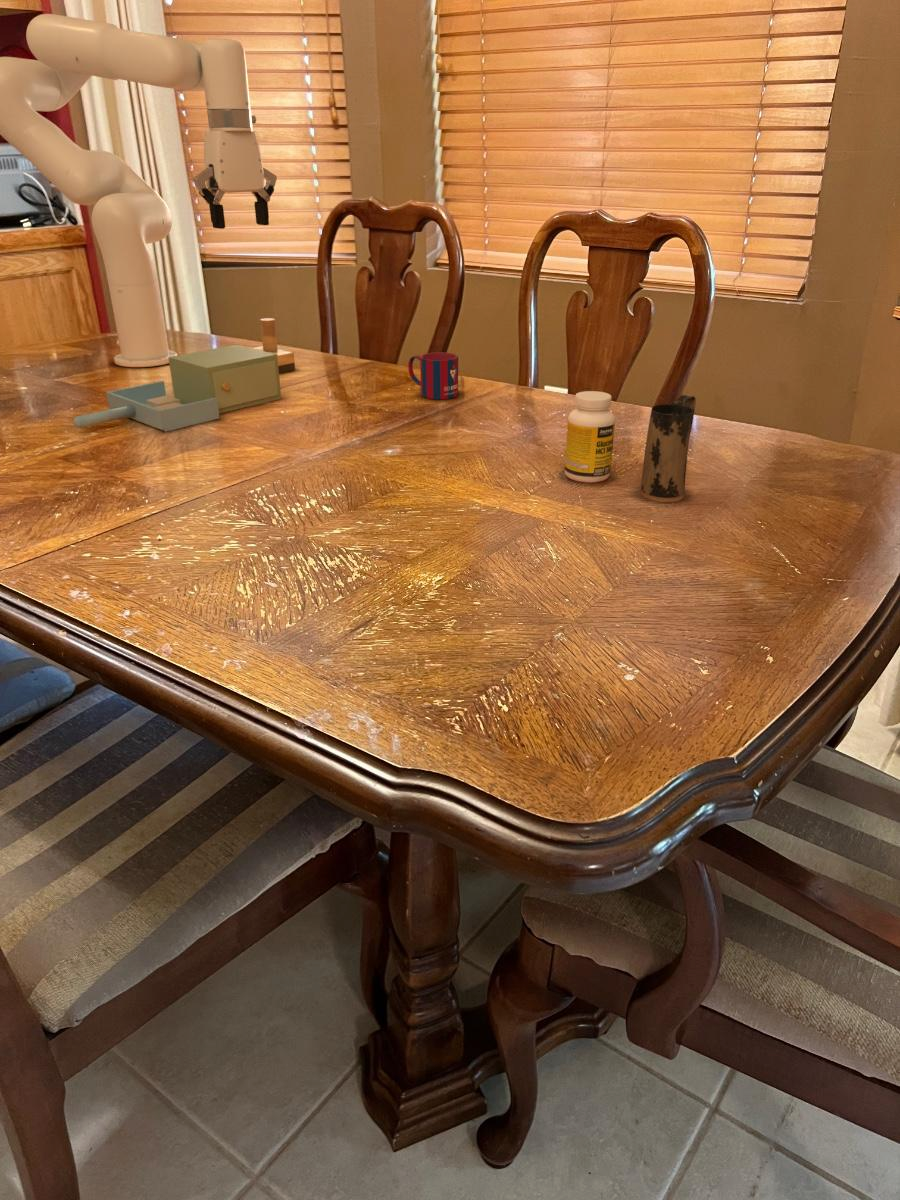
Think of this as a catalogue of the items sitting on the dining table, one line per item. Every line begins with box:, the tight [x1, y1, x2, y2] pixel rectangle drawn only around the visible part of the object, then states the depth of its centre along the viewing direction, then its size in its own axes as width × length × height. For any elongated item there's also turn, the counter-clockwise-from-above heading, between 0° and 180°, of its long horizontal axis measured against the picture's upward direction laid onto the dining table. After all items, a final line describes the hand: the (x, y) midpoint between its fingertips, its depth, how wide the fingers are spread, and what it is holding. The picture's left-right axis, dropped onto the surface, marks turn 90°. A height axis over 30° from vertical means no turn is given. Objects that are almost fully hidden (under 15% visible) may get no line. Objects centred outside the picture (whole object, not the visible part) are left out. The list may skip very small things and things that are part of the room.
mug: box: [640, 394, 697, 503], centre depth 108 cm, size 8×6×12 cm
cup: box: [407, 351, 459, 400], centre depth 154 cm, size 7×10×7 cm
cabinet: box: [168, 344, 282, 415], centre depth 149 cm, size 13×14×8 cm
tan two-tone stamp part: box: [252, 317, 296, 375], centre depth 171 cm, size 10×4×10 cm, turn 47°
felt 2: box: [154, 403, 181, 410], centre depth 141 cm, size 4×4×2 cm
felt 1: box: [146, 395, 180, 408], centre depth 145 cm, size 4×4×2 cm
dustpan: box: [72, 380, 220, 433], centre depth 139 cm, size 20×17×3 cm
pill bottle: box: [563, 390, 616, 484], centre depth 114 cm, size 6×6×11 cm
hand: (241, 226), depth 161 cm, fingers open, 9 cm apart
